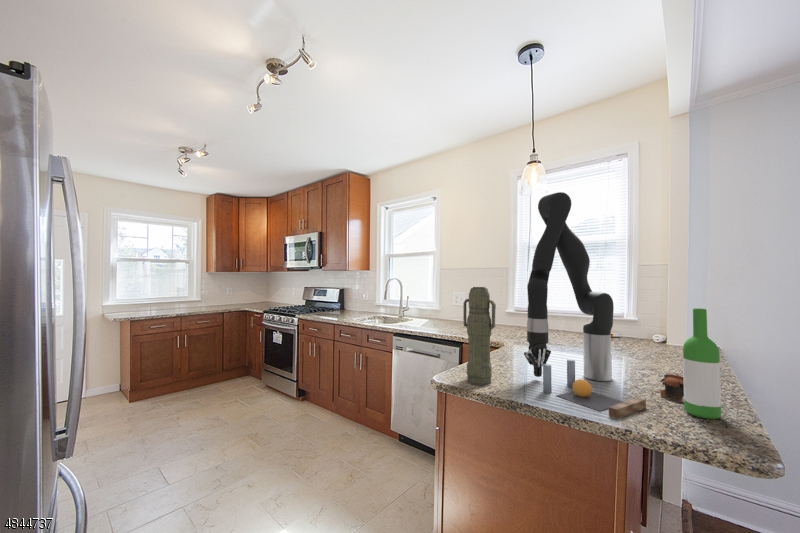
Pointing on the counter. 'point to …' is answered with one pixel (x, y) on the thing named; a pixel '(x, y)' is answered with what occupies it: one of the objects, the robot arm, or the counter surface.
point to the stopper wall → (627, 407)
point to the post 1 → (547, 378)
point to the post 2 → (570, 372)
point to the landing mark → (591, 400)
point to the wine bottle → (701, 371)
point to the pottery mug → (673, 387)
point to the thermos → (479, 335)
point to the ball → (582, 388)
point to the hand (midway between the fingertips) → (537, 376)
